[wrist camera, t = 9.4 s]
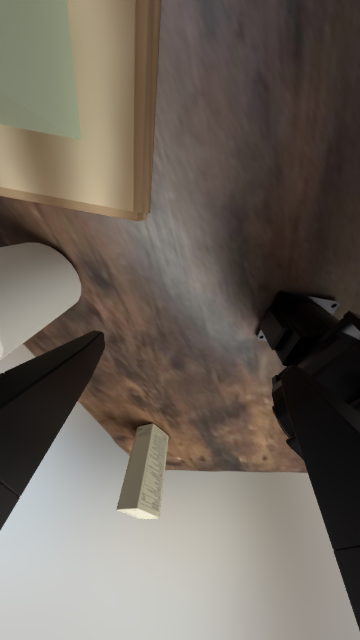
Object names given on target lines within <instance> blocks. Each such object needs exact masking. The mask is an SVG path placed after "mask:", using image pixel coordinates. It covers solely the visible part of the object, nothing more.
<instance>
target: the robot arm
mask: <svg viewBox="0 0 360 640" xmlns="http://www.w3.org/2000/svg"><path fill="white" fill-rule="evenodd" d="M282 294H284V296H283V297H280V296H281V295H282ZM333 304H334V305H333ZM332 305H333V306H332ZM338 307H339V302H337V301H336V300H332V299H327V298H321V297H316V296H310V295H305V294H299V293H294V292H288V291H279V292H278V293H277V295H276V297H275V299H274V301H273V303H272V305H271V307H270V308H269V309H268V310H267V312H266V314H265V316H264V318H263V320H262V322H261V324H260V329H259V331H258V333H257V335H256V336H257V339H258V340H261V341H267V342H268V343H269V345H270V347H271V349H272V350H275V351H276V353H277V355H278V357H279V359H280V360H281V362H282V364H283V365H284V366H287V367H286V368H285V369H284V370H283V371H282V372H281V373H279V374H278V375H275V376H274V377H273V378H272V384H273V389H272V397H273V402H274V406H272V409H273V413H274V415H275V417H276V419H277V421H278V423H279V425H280V427H281V428H282V430H283V431H284V432H285V434H286V435H287V436H288V437H289V438H288V439H287V440H286V442H287V444H288V445H289V446H290V447H291V448H292V449H293V450H294V451H295V452H296V453H297V454H298V455H299V456H300V457H301V458H302V459H303V460H304V463H305V466H306V469H307V472H308V475H309V478H310V481H311V484H312V487H313V490H314V493H315V496H316V499H317V502H318V505H319V508H320V511H321V514H322V517H323V520H324V523H325V526H326V529H327V532H328V535H329V538H330V541H331V544H332V548H333V549H334V554H335V557H336V560H337V563H338V566H339V569H340V572H341V575H342V578H343V581H344V585H345V588H346V591H347V593H348V597H349V600H350V603H351V606H352V609H353V612H354V615H355V618H356V621H357V624H358V627H359V630H360V316H359V315H357V314H355V313H353V312H351V311H348V312H347V313H346V314H345V315H344V316H343V317H344V318H342V319H341V320H340V321H339V320H338V319H337V318H335V317H334V316H333V314H334V312H335V311H336V310H337V308H338ZM261 335H263V336H261ZM260 336H261V337H260ZM104 348H105V341H104V333H103V332H101V331H92V332H89V333H87V334H85V335H83V336H81V337H79V338H76V339H74V340H72V341H70V342H68V343H66V344H64V345H61V346H59V347H57V348H55V349H53V350H51V351H48V352H46V353H44V354H42V355H40V356H38V357H36V358H34V359H31V360H29V361H27V362H25V363H23V364H20V365H19V366H16V367H14V368H12V369H10V370H8V371H5V373H1V374H0V530H1V528H2V527H3V525H4V523H5V522H6V520H7V518H8V517H9V515H10V513H11V511H12V510H13V508H14V506H15V505H16V503H17V502H18V500H19V497H20V496H21V495H22V493H23V491H24V489H25V488H26V486H27V484H28V483H29V481H30V479H31V478H32V476H33V474H34V473H35V471H36V469H37V468H38V466H39V464H40V463H41V461H42V459H43V458H44V456H45V454H46V453H47V451H48V449H49V448H50V446H51V444H52V443H53V441H54V439H55V438H56V436H57V434H58V433H59V431H60V429H61V428H62V426H63V424H64V423H65V421H66V419H67V418H68V416H69V414H70V413H71V411H72V409H73V407H74V406H75V404H76V402H77V401H78V399H79V397H80V396H81V394H82V392H83V391H84V389H85V387H86V386H87V384H88V382H89V381H90V379H91V377H92V375H93V373H94V371H95V368H96V366H97V364H98V362H99V360H100V357H101V355H102V353H103V351H104Z"/></svg>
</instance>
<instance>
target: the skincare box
mask: <svg viewBox="0 0 360 640" xmlns="http://www.w3.org/2000/svg"><path fill="white" fill-rule="evenodd" d="M167 445H168V435H167V434H165V433H164V432H163V431H162V430H161V429H160V428H159V427H157V426H156V425H155V424H153V423H152V424H148V425H144V426H140V427H138V428H137V431H136V435H135V439H134V443H133V447H132V451H131V455H130V458H129V463H128V466H127V470H126V474H125V478H124V482H123V486H122V490H121V494H120V499H119V502H118V506H117V510H118V511H121V512H123V513H126V514H128V515H131V516H134V517H136V518H138V519H154V518H155V519H156V518H157V519H159V518H160V508H161V500H162V490H163V480H164V472H165V463H166V454H167Z"/></svg>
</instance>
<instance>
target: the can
mask: <svg viewBox="0 0 360 640" xmlns="http://www.w3.org/2000/svg"><path fill="white" fill-rule="evenodd" d="M80 295H81V283H80V280H79V277H78V274H77V272H76V271H75V269H74V268H73V266H72V264H71V263H70V262H69V261H68V260H67V259H66V258H65V257H64V256H63V255H62V254H61V253H59V252H57V251H56V250H54V249H53V248H51V247H49V246H46V245H44V244H41V243H29V242H27V243H22V244H16V245H11V246H5V247H0V360H1V359H3V358H4V357H5V356H7V355H8V354H9V353H10V352H12V351H13V350H15V349H16V348H17V347H19V346H20V345H21V344H23V343H24V342H25V341H27V340H28V339H29V338H31V337H32V336H33V335H35V334H36V333H37V332H39V331H40V330H41V329H43V328H44V327H45V326H46V325H48V324H49V323H50V322H52V321H53V320H54V319H56V318H57V317H58V316H60V315H61V314H62V313H64V312H65V311H66V310H68V309H69V308H70V307H72V306H73V305H74V304H75V303H77V302H78V300H79V298H80Z"/></svg>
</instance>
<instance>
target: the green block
mask: <svg viewBox="0 0 360 640" xmlns="http://www.w3.org/2000/svg"><path fill="white" fill-rule="evenodd" d="M0 123H1V124H3V125H6V126H11V127H16V128H22V129H27V130H32V131H37V132H42V133H48V134H53V135H58V136H63V137H68V138H74V139H79V140H81V131H80V121H79V112H78V103H77V93H76V84H75V75H74V65H73V56H72V47H71V37H70V28H69V19H68V9H67V1H66V0H0Z"/></svg>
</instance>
